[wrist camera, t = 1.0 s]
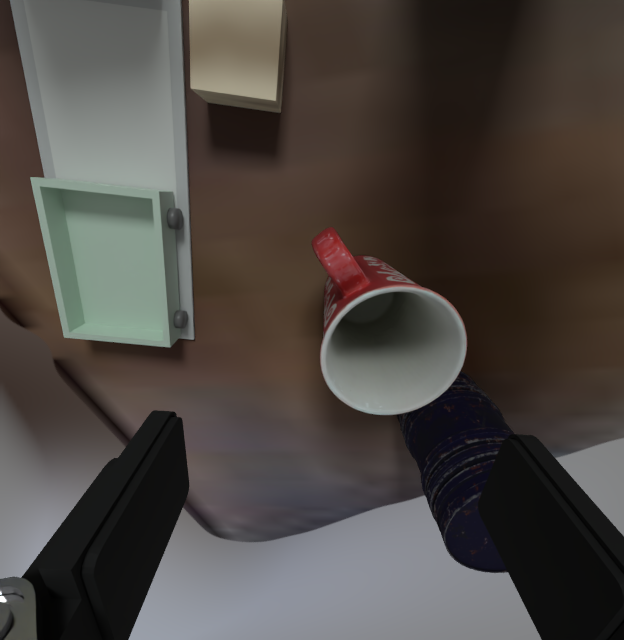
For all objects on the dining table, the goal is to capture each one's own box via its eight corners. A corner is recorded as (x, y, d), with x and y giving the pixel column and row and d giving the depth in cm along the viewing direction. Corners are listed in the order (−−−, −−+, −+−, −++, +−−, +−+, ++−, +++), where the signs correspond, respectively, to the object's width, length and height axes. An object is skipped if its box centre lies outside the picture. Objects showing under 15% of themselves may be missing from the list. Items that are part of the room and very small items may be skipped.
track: (2, -56, 22) (-57, -103, 19) (180, -32, 23) (156, -73, 19) (76, 327, 33) (48, 343, 30) (194, 338, 34) (181, 355, 30)
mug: (421, 307, 32) (489, 380, 20) (342, 346, 34) (360, 436, 22) (366, 191, 28) (408, 192, 16) (280, 243, 30) (257, 280, 17)
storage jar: (402, 444, 39) (450, 582, 25) (386, 379, 36) (432, 499, 22) (483, 426, 38) (581, 560, 24) (476, 357, 35) (585, 469, 21)
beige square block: (208, 8, 24) (188, -25, 20) (287, 21, 24) (283, -10, 20) (208, 103, 26) (190, 88, 22) (281, 113, 26) (275, 100, 22)
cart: (47, 177, 27) (20, 176, 25) (181, 192, 28) (168, 192, 25) (76, 325, 33) (56, 336, 30) (188, 335, 33) (178, 348, 30)
